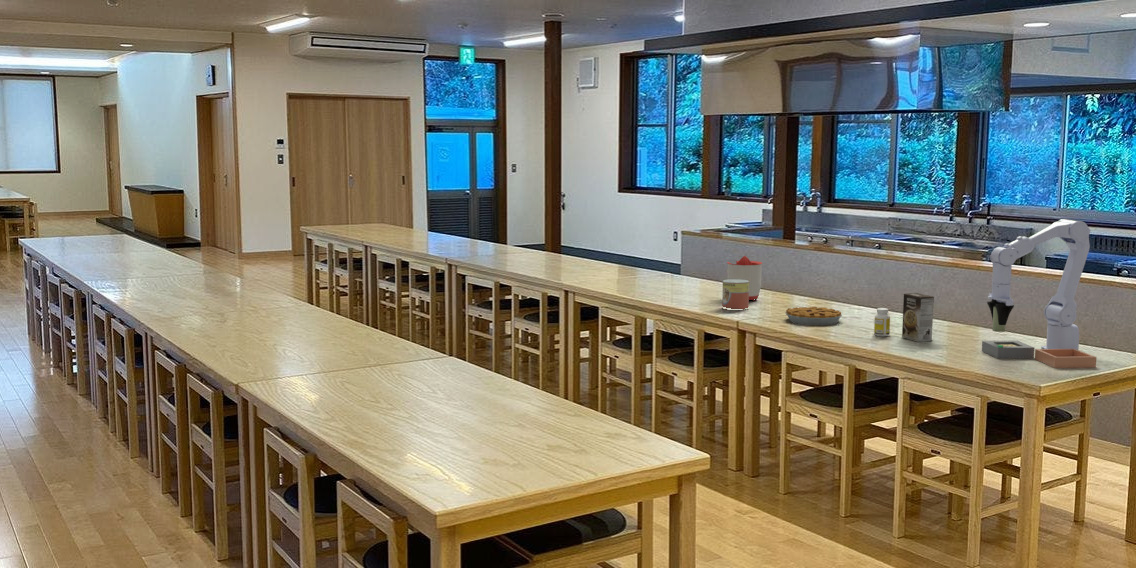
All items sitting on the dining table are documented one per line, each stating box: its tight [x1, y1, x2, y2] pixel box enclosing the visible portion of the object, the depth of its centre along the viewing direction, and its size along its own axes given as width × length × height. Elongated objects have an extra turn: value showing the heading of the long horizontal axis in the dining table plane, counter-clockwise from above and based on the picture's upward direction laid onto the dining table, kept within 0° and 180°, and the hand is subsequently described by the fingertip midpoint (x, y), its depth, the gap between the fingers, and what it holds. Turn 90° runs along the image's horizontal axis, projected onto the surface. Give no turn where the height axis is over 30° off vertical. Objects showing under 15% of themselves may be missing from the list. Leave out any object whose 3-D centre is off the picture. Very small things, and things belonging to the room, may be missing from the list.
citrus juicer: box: [725, 255, 763, 301], centre depth 455 cm, size 16×17×20 cm
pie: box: [785, 306, 843, 326], centre depth 400 cm, size 22×22×5 cm
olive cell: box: [991, 306, 1007, 333], centre depth 337 cm, size 4×4×9 cm
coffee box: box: [901, 292, 935, 343], centre depth 361 cm, size 9×6×16 cm
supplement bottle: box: [873, 307, 891, 337], centre depth 369 cm, size 5×5×10 cm
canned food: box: [721, 278, 750, 309], centre depth 431 cm, size 11×11×12 cm
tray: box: [1034, 348, 1098, 369], centre depth 321 cm, size 13×13×3 cm
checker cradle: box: [981, 340, 1036, 359], centre depth 335 cm, size 12×12×4 cm
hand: (999, 323), depth 338 cm, fingers closed on olive cell, 4 cm apart
